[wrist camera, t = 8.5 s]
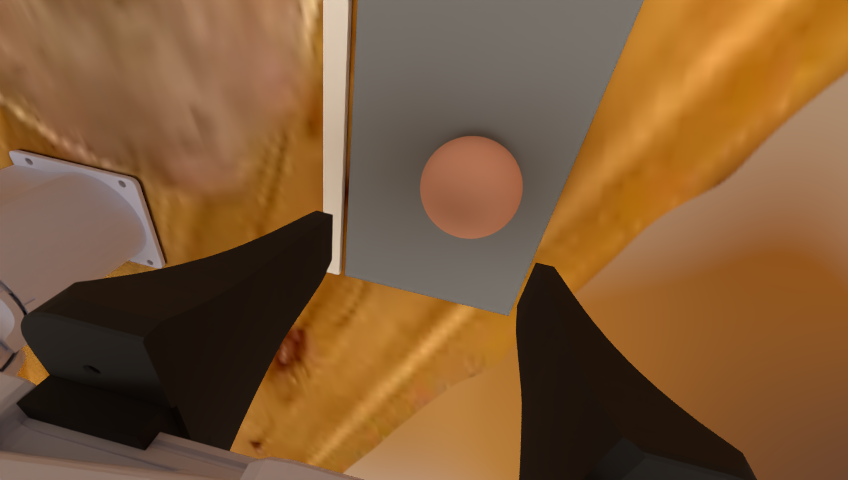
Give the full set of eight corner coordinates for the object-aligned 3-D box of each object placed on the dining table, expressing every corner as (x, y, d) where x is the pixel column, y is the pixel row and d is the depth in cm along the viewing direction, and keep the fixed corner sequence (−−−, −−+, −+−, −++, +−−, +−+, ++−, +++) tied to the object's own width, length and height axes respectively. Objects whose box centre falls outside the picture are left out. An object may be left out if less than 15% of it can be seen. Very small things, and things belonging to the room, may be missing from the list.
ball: (404, 205, 20) (427, 261, 17) (417, 117, 18) (448, 159, 14) (483, 206, 22) (522, 257, 18) (507, 124, 19) (559, 165, 15)
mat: (325, 266, 26) (323, 271, 26) (328, -100, 15) (323, -103, 15) (508, 311, 26) (508, 316, 25) (656, -38, 14) (661, -39, 14)
